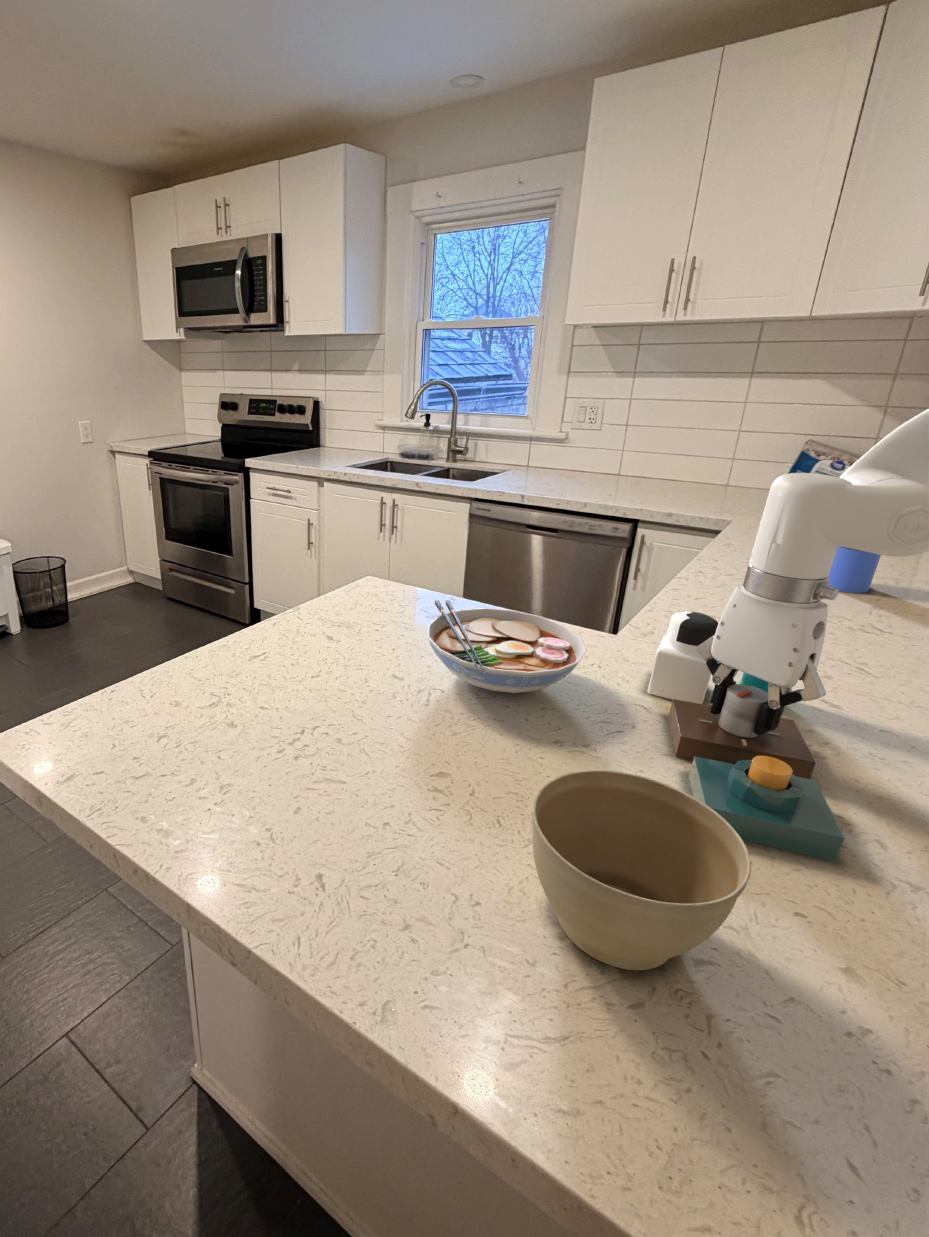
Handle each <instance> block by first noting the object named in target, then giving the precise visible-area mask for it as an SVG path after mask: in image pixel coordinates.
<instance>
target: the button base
mask: <svg viewBox="0 0 929 1237" xmlns="http://www.w3.org/2000/svg"><path fill="white" fill-rule="evenodd" d="M751 762H752V760H743V761H738V762H736V763H735V764H731V763H726V762H721V761H716V760H711V759H706V758H701V757H696V756H694V759H693V760H692V763H691V766H690V770H689V773H688V776H687V777H688V782H689V786H690V791H691V796H693V797H694V798H696V799H698V800H699V801H701V802H703V803H704V804H706V805H707V806H709V807H710V808H711V809H713V810H714V811H716V812H717V813H718V814H719V815H720V816H722V817H723V818H724V819H725V820H726V821H727V822H728V823H729V824H730V825H731V826H732V827H733V828H734V829H735V831H736V832H737V833H738V834H739V836H740V837H741V839H742V840H743V841H747V842H751V843H756V844H760V845H764V846H769V847H772V848H778V849H781V850H786V851H790V852H795V853H799V854H802V855H803V854H804V855H806V856H807V855H808V856H812V857H817V858H820V859H825V860H829V861H833V862H835V861H836V860H837V857H838V854H839V853H840V851H841V848H842V845H843V843H844V840H845V835H844V834H843V832H842V830H841V828H840V826H839V824H838V822H837V820H836V818H835V816H834V813H833V812H832V811H831V808H830V806H829V804H828V802H827V801H826V799H825V796H824V794H823V792H822V790H821V788H820V786H819V784H818V783H817V780H815V779H812V778H810V779H807V778H802V777H796V776H795V775H793V774H792V776H791V778H790V781H789V784H788V787H787V789H786V790H779V791H778V790H773V789H768V788H765V787H763V786H761V785H758V784H756V783H754V782H753V781H752V780H750V779H749V778H748V771H749V768H750V765H751Z"/></svg>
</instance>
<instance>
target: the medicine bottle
mask: <svg viewBox="0 0 929 1237" xmlns="http://www.w3.org/2000/svg"><path fill="white" fill-rule="evenodd" d="M718 624H719V621H717V620H716V619H715V618H714V617H711V616H710V615H708V614H705V613H702V612H698V611H697V612H696V611H689V610H688V611H679V612H675V613H674V614H672V616H671V617H670V621H669V625H668V628H667V633H666V634H665V635H663V637H662V639H661V641H660V644H659V645H658V648H657V650H656V654H655V656H654V657H655V659H654V663H653V665H652V671H651V675H650V678H649V683H648V686H647V694H649V695H652V696H656V697H660V698H665V699H668V700H671V701H672V700H673V699H675V700H681V701H686V702H692V703H698V704H704V701H705V697H706V694H707V691H708V686H709V683H710V679H711V676H712V674H711V672H710V670H709V668H708V667H707V665H706V661H705V660H704V659H703V658H702V656H701V655H700V654H699V652H698V651H697V646H698V645H700V644H701V643H703V642H704V641H706V640H708V639H709V638H711V637H712V636H714V635H715V632H716V629H717V627H718Z"/></svg>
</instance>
